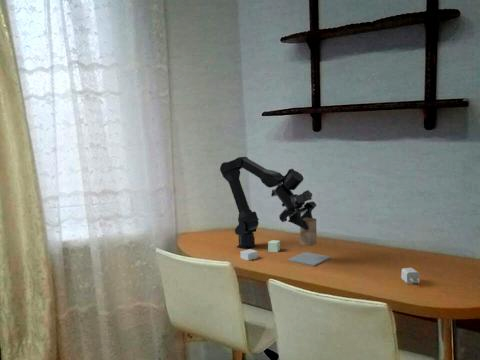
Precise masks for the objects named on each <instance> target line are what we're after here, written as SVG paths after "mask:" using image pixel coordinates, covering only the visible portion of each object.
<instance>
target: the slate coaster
mask: <svg viewBox="0 0 480 360" xmlns="http://www.w3.org/2000/svg"><path fill="white" fill-rule="evenodd" d="M331 258H332V257H331V256H328V255H321V254H318V253H317V254H316V253H314V252H313V253H312V252H308V251H303V252H301V253H299V254H297V255H294V256H292V257H290V258H288V259H287V261H288V262H292V263H296V264H297V263H298V264H301V265H305V266H306V265H307V266H310V267H316V266H318V265H320V264H321V263H325V262H326V261H328V260H330V259H331Z"/></svg>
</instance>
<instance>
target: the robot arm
mask: <svg viewBox="0 0 480 360" xmlns="http://www.w3.org/2000/svg"><path fill="white" fill-rule="evenodd" d="M241 169H244V170H245V171H247V172H248V173H250V174H252V175H254V176H256V177H257V178H258V179H260V181H261V183H262V184H263V185H265V186H266V187H267V188H275V189H272V191H271V195H270V196H271V197H277V198H278V199H279V200H280V201H281V206H282V208H284V209H283V211H282V212H281V213H280V214H279V216H278V217H279V218H278V219H279V221H280V222H281V223H284V222H285V223H286V222H288V223H291V224H294V225H295V226H298V227H299V228H300V227H302V228H303V229H305V230H308V229H309V228H308V226H307V225H306V223H305V222H304V220H303V218H306V217H307V218H314V217H313V215H312V211H314V209H315V208H316V207H317V204H316V202H315V201H312V199H313V198H312V197H313V193H312V192H311V190H309V189H307V190H305V191H303V193H300V194H294V193H293V191H294V190H296V189H297V188H298V187H299V186H300V184H301V183H302V182H303V181H304V178H305V177H304V176H303V175H302V173H300V172H299V171H297V170H295V169H294V168H289V169H288V171H287V173H285V175H283V174H282V173H281V172H278V171H276V170H271V169H267V168H265V167H263V166H262V165H260V164H258V163H256V162H255V161H253V160H252V159H249V157H247V156H238V157H237V158H235V159H232V160H230V161H225V162H222V163H221V164H220V167H219V171H220V173H221V175H222V177H223V179H225V180H226V182H228V185H229V187H230V188H229V189H230V190H231V193H232V196H233V199H234V202H235V205H236V207H237V211H238V217H237V220H238V224H237V226H236V227H235V229H234V233H235V235H238V245H236V248H240V249H245V250H248V249H251V248H255V247H256V246H257V244H256V243H255V242H256V241H255V240H256V239H255V236H254V235H255V234H254V233H255V232H256V233H257V228H258V226H259V224H260V223H259V221H260V220H259V217H258V214H257V212H256V211H252V210H251V209H250V207H249V203H248V201H247V198H246V195H245V192H244V188H243V186H242V183H241V180H240V175H241Z"/></svg>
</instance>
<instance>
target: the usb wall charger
mask: <svg viewBox="0 0 480 360" xmlns="http://www.w3.org/2000/svg"><path fill="white" fill-rule="evenodd" d="M401 279H402V281H403V282H405V284H407V285H413V284H412V283H418V284H419V283H420V282H421V280H420V272H419V271H417V270H416V269H414V268H413V267H405V268H404V267H403V268H401Z"/></svg>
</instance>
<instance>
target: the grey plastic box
mask: <svg viewBox="0 0 480 360" xmlns="http://www.w3.org/2000/svg"><path fill="white" fill-rule="evenodd" d="M258 254H259V253H258V251H257V250H254V249H251V248H249V249H245V250H244V249H243V250H240V259H242V260H245V261H247V260H248V261H253V260H255V259H258V258H259V255H258ZM252 259H253V260H252Z"/></svg>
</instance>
